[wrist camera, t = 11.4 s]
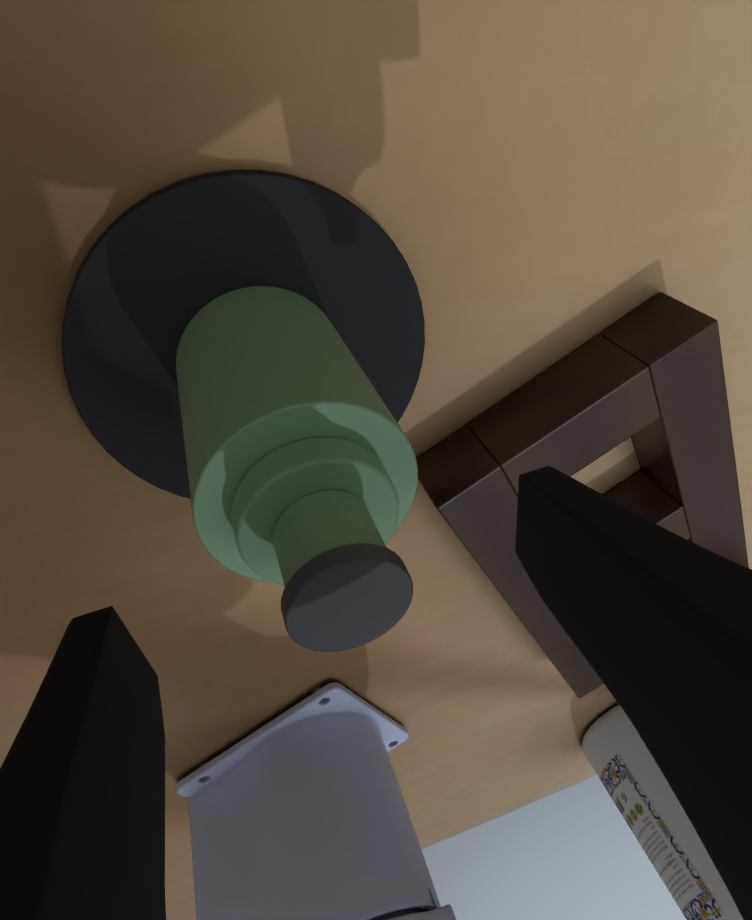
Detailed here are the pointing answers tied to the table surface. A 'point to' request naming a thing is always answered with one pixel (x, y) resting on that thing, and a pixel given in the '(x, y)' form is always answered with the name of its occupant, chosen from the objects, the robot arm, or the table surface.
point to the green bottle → (295, 464)
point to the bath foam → (656, 818)
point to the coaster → (214, 274)
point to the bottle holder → (600, 453)
